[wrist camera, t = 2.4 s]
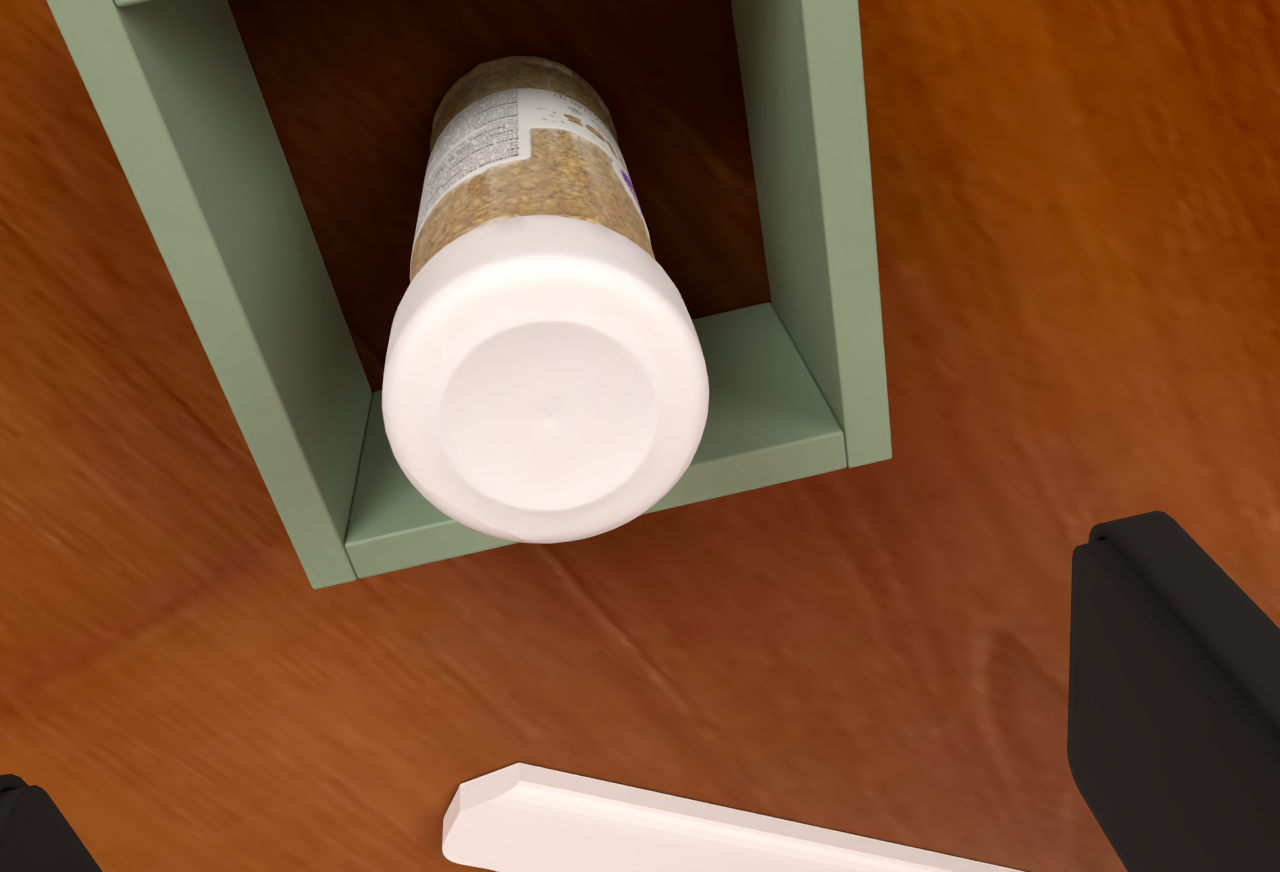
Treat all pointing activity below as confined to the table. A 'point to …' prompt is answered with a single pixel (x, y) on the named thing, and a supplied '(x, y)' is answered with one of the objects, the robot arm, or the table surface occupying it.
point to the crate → (319, 336)
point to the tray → (649, 833)
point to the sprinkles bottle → (538, 320)
